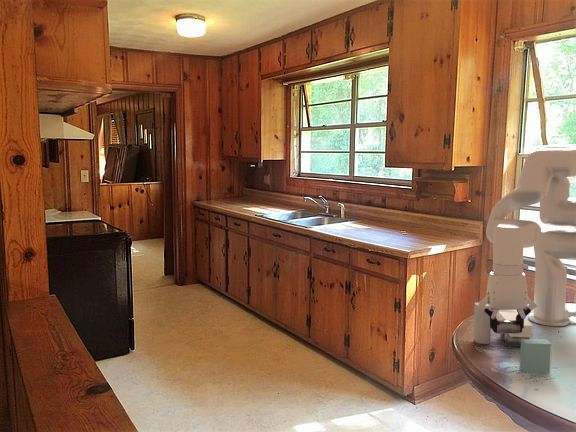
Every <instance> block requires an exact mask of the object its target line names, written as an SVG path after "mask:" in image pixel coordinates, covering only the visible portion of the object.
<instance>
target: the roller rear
mask: <svg viewBox="0 0 576 432" xmlns="http://www.w3.org/2000/svg"><path fill="white" fill-rule="evenodd" d="M498 334H499V335H498V336H499V338H500V340H505V333H498Z"/></svg>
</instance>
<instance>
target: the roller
mask: <svg viewBox="0 0 576 432" xmlns="http://www.w3.org/2000/svg"><path fill="white" fill-rule="evenodd" d="M499 333H520V324H519V322H518V320H498V319H497V332H496V333H495V334H499Z"/></svg>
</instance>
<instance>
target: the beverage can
mask: <svg viewBox="0 0 576 432" xmlns="http://www.w3.org/2000/svg"><path fill="white" fill-rule="evenodd" d="M479 302H480V301H477V302H474V306H473V307H474V308H473V313H474V314H473V341H474V342H475V343H476V344H479V345H488V344H490V343H491V335H492V334H491V332H492V331H491V330H492V329H491V328H490V316H489V315H488V314H486V313H485V312H484V311H483V310H482V309H481V308H480V307H479V306H478V303H479ZM485 306H486V307H487V308H488V309H489V310H490V308H491V307H490V305H489V304H486V305H485Z"/></svg>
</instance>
